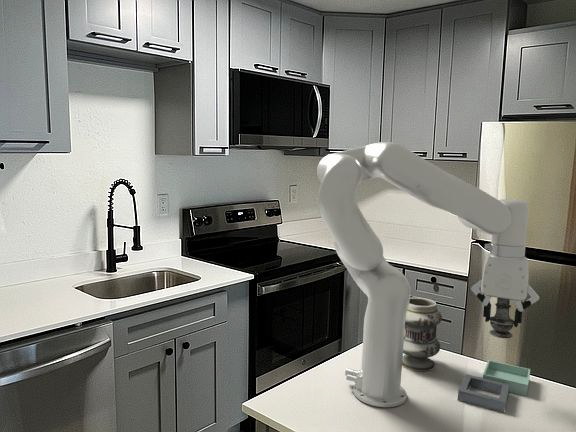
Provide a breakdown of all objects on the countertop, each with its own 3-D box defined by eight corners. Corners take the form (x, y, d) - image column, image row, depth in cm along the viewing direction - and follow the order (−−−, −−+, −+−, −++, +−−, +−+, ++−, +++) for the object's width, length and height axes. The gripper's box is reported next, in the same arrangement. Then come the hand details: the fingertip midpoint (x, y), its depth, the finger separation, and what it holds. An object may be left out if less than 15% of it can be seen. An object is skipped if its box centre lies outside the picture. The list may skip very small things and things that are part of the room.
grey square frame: (457, 400, 119) (458, 390, 118) (464, 383, 128) (465, 373, 127) (504, 412, 114) (505, 402, 114) (508, 393, 123) (509, 384, 123)
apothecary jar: (406, 351, 147) (410, 292, 144) (445, 363, 139) (451, 301, 137) (386, 363, 138) (390, 301, 135) (427, 377, 130) (432, 311, 128)
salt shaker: (507, 329, 125) (511, 283, 123) (518, 338, 119) (522, 290, 118) (484, 329, 125) (487, 283, 123) (493, 338, 119) (497, 290, 117)
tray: (481, 385, 127) (482, 374, 126) (487, 370, 136) (488, 359, 136) (526, 396, 122) (527, 384, 122) (529, 379, 131) (530, 369, 131)
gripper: (467, 249, 120) (462, 320, 123) (547, 258, 112) (539, 334, 114) (472, 244, 127) (468, 312, 129) (548, 252, 118) (541, 325, 121)
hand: (501, 322), depth 122 cm, fingers closed on salt shaker, 5 cm apart
